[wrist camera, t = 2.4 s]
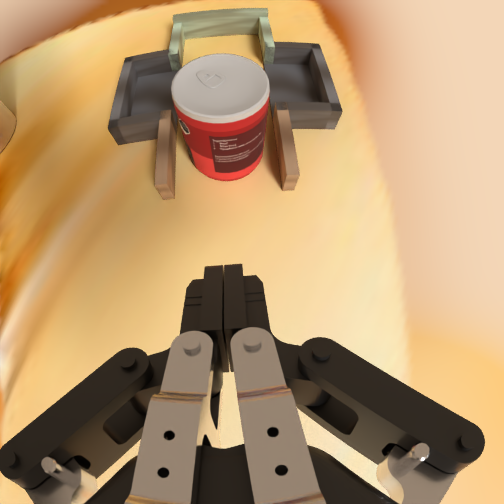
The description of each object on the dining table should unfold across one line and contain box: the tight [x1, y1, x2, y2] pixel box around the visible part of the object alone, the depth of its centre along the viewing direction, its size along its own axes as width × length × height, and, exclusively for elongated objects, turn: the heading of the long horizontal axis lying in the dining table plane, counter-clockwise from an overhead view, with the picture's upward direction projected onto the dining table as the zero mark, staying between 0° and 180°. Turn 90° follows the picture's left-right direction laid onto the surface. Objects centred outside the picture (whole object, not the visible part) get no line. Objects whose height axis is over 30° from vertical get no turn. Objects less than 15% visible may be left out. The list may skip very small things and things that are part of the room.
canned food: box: [171, 54, 270, 181], centre depth 26 cm, size 8×8×11 cm
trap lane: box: [108, 8, 342, 200], centre depth 31 cm, size 28×25×4 cm
